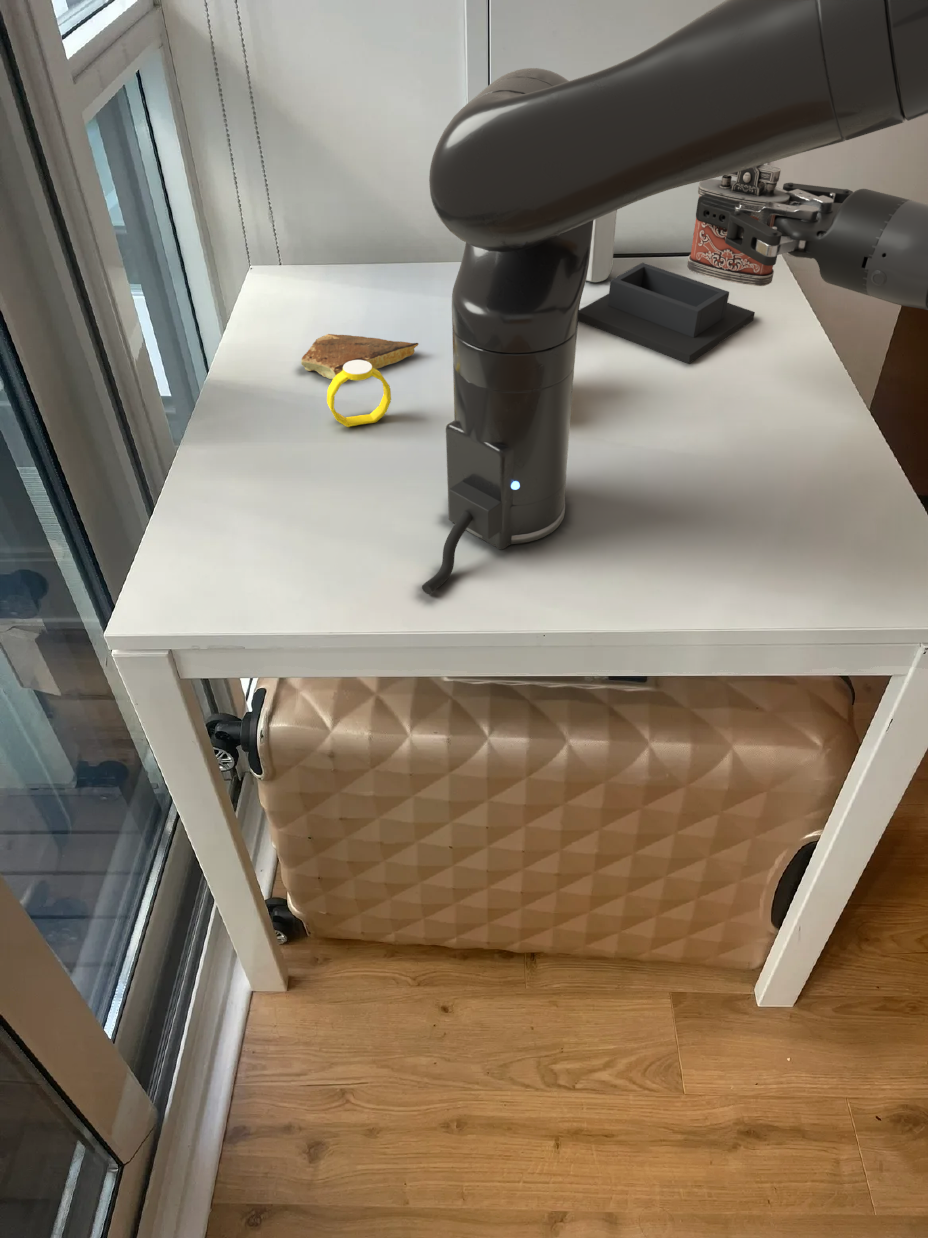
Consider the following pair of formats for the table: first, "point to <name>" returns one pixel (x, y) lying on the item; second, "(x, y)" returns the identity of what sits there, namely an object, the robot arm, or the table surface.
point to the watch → (358, 372)
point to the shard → (353, 353)
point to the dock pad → (666, 312)
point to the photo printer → (602, 247)
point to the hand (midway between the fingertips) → (713, 199)
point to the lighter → (710, 240)
